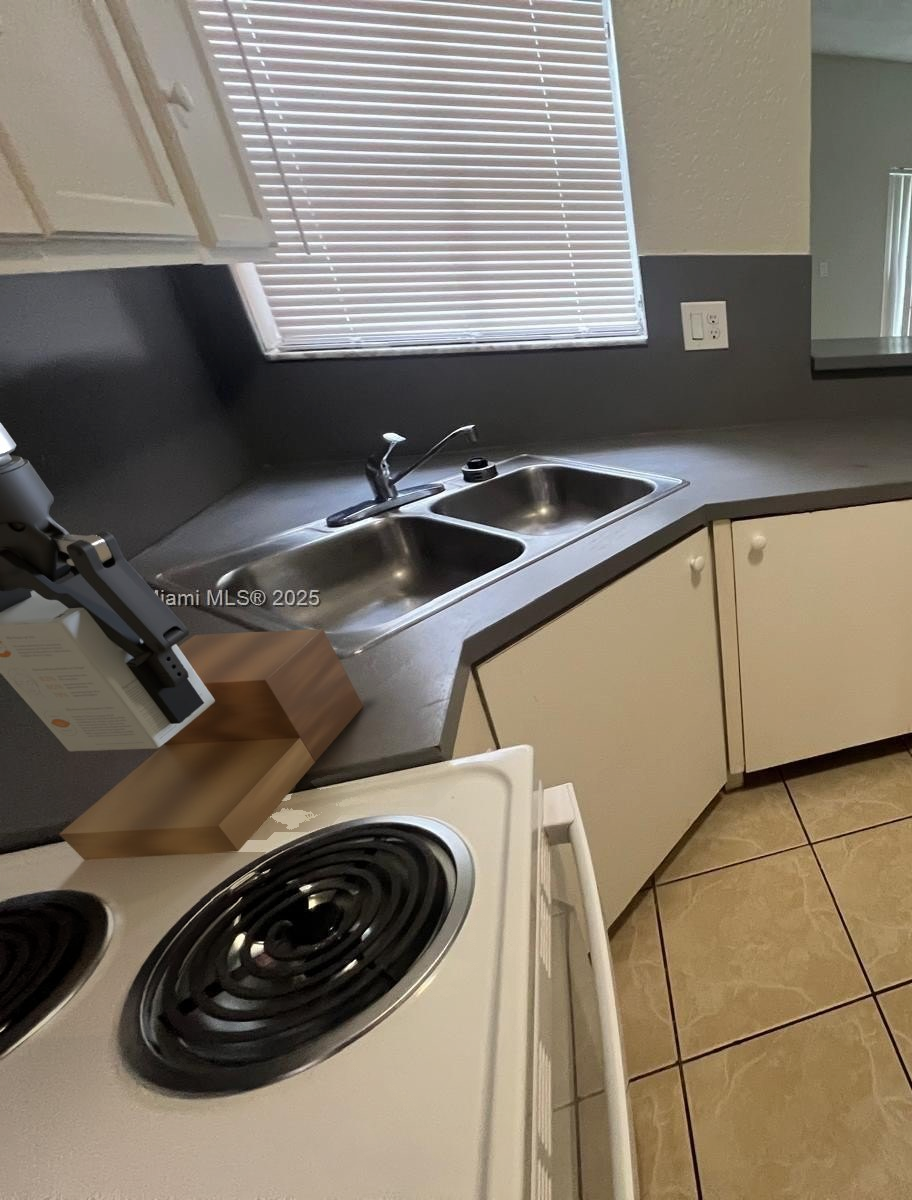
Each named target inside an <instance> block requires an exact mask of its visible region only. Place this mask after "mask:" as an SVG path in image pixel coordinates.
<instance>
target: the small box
mask: <svg viewBox="0 0 912 1200" xmlns="http://www.w3.org/2000/svg"><path fill="white" fill-rule="evenodd" d="M30 591H31V595H32V597H30V598H28V599H26V600H24V601H22V602H20V603H18V604H16V605H14V606H12V607H10V608H8V609H6V610H4V611H2V612H0V675H1V676H2V677H3V678H4V679H5V680H6V682H8V684H9V685H10V686H11V688H13V690H15V692H16V693H17V694H18V695H19V696H20V697H21V698H22V700H23V701H24V703H26V704H27V705H28V707H30V708H31V710H32V711H33V712H34V714H36V715H37V716H38V718H39V719H40V720H41V721H42V722H43V724H44V725H45V726H46V727H47V728H48V729H49V730H50V732H51V733H52V734H53V735H54V736H55V738H56V739H58V740H59V742H60V744H62V745H63V747H64V748H65V749H66V750H67V751H68V752H89V751H90V752H91V751H92V752H93V751H119V750H120V751H121V750H122V751H123V750H147V749H152V750H153V749H160V748H161V747H162V746H163V745H164V743H166V742H167V741H168V740H169V739H171V738H172V737H173V736H174V735H176V734H177V733H178V732H179V731H180V730H182V729H183V728H184V727H185V726H187V725H188V724H189V723H190V722H192V721H193V720H194V719H195V718H196V717H198V716H199V715H200V714H201V713H202V712H203V711H205V710H206V709H207V708H208V707H209V706H211V705H212V704H213V703H214V702H215V700H214V698H213V697H212V695H211V694H210V692H209V691H208V689H207V688H206V686H205V685H204V684H203V682H202V681H201V679H200V678H199V676H198V675H197V674H196V672H195V671H194V669H193V668H192V666H191V665H190V663H189V662H188V660H187V659H186V658H185V656H184V655H183V653H182V652H181V650H180V649H179V646H178V644H177V643H176V644H175V645H173V646H172V650H173V651H174V653H175V654H176V656H177V657H178V659H179V660H180V662H181V664H182V665H183V666H184V668H185V669H186V670H187V672H188V675H189V677H188V678H187V679H188V680H189V682H190V683H191V685H192V686H193V687H194V689H195V690H196V692H197V693H198V695H199V696H200V697H201V699H202V700H203V702H204V704H203V705H201V706H200V707H199V708H198V709H197V710H195V711H194V712H193V713H192V714H191V715H189V716H188V717H187V718H186V719H185V720H183V721H182V722H181V723H180V724H171V723H170V722H169V720H168V719H167V718H166V716H165V715H164V714H163V712H162V711H161V710H160V708H159V707H158V706H157V704H156V703H155V702H154V700H153V699H152V698H151V696H150V695H149V694H148V692H147V691H146V690H145V688H144V687H143V686H142V684H141V683H140V682H139V680H138V679H137V678H136V676H135V675H134V674H133V672H132V671H131V670H130V668H129V667H128V666H127V664H126V663H127V662H128V661H130V660H131V659H133V658H134V657H132V656H131V655H130V654H128V653H127V652H126V651H124V650H123V649H122V648H120V647H119V646H118V645H116V644H115V643H114V642H112V641H111V640H110V639H108V637H107V636H106V635H105V633H104V632H103V631H102V629H101V628H100V627H99V626H98V624H97V623H96V622H95V621H94V619H93V618H92V617H91V616H90V614H89V613H88V612H87V611H86V610H85V609H84V608H67V607H66V606H65V605H63V604H62V603H61V602H59V601H57V600H47V599H45V598H43V597H42V596H40V595H39V594H38V593H36V592H35V591H34V590H30ZM140 642H141V643H143V641H142V640H141V639H140Z"/></svg>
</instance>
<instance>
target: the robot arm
mask: <svg viewBox="0 0 912 1200" xmlns="http://www.w3.org/2000/svg"><path fill="white" fill-rule="evenodd" d="M16 447H17V444H16V442H15V441H14V439H13V438H12V437H11V435H10V434H9V432H8V431H7V429H6V428H5V427H4V425H3V424H2V423H1V422H0V612H2V611H4V610H6V609H8V608H10V607H12V606H14V605H16V604H18V603H20V602H22V601H24V600H26V599H28V598H30V597H32V595H31V591H33V590H34V591H35V592H36V593H38V594H39V595H40V596H42V597H43V598H45V599H47V600H57V601H59V602H61V603H62V604H63V605H65V606H66V607H67V608H84V609H85V610H86V611H87V612H88V613H89V614H90V616H91V617H92V618H93V619H94V621H95V622H96V623H97V624H98V626H99V627H100V628H101V629H102V631H103V632H104V633H105V635H106V636H107V637H108V639H110V640H111V641H112V642H114V643H115V644H116V645H118V646H119V647H120V648H122V649H123V650H124V651H126V652H127V653H128V654H130V655H131V656H132V657H134V658H133V659H131V660H130V661H128V662H127V663H126V664H127V666H128V667H129V668H130V670H131V671H132V672H133V674H134V675H135V676H136V678H137V679H138V680H139V682H140V683H141V684H142V686H143V687H144V688H145V690H146V691H147V692H148V694H149V695H150V696H151V698H152V699H153V700H154V702H155V703H156V704H157V706H158V707H159V708H160V710H161V711H162V712H163V714H164V715H165V716H166V718H167V719H168V720H169V722H170V723H171V724H180V723H181V722H182V721H183V720H185V719H186V718H187V717H188V716H189V715H191V714H192V713H193V712H194V711H195V710H197V709H198V708H199V707H200V706H201V705H203V704H204V702H203V700H202V699H201V697H200V696H199V695H198V693H197V692H196V690H195V689H194V687H193V686H192V685H191V683H190V682H189V680H188V679H187V678H188V677H189V675H188V672H187V670H186V669H185V668H184V666H183V665H182V664H181V662H180V660H179V659H178V657H177V656H176V654H175V653H174V651H173V650H172V646H173V645H175V644H176V645H177V644H178V643H179V642H181V641H182V640H183V639H185V638H186V637H188V636H189V635H190V631H189V629H188V628H187V627H186V625H185V624H184V623H183V622H182V621H181V619H179V618H178V616H176V613H174V612H173V611H172V610H171V609H170V607H168V605H167V604H166V603H165V602H164V601H163V600H162V599H161V597H159V595H158V594H157V593H156V592H155V590H153V588H152V587H151V586H150V585H149V584H148V583H147V581H145V579H144V578H143V577H142V576H141V574H139V573H138V572H137V570H136V569H135V568H134V567H133V566H132V565H131V564H130V563H129V561H128V560H127V559H126V558H125V556H124V555H123V552H122V550H121V548H120V546H119V543H118V542H117V540H116V538H115V536H114V535H113V534H112V533H110V532H109V531H106V530H99V531H95V532H94V533H92V534H89V535H81V534H71V533H70V532H69V531H67V530H66V529H65V528H64V527H63V526H61V525H60V524H59V523H57V522H56V521H55V520H54V519H53V518H52V516H51V515H50V509H51V506H52V505H53V504H54V501H55V497H54V495H53V493H52V492H51V491H50V489H49V488H48V487H47V486H46V483H44V481H43V480H42V478H41V476H40V475H39V474H38V473H37V471H36V469H35V468H34V467H33V465H32V464H31V462H30V461H29V460H28V459H26V458H22V457H21V456H18V455H10V454H11V453H12V452H14V451H15V450H16ZM70 572H71V573H72V574H73V576H72V577H70V578H68V579H66V580H65V578H67V577H69V574H70ZM62 580H64V581H62ZM60 581H61V582H60ZM58 582H59V583H58ZM140 639H141V640H142V641H143V643H141V642H140Z"/></svg>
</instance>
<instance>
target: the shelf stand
mask: <svg viewBox="0 0 912 1200" xmlns="http://www.w3.org/2000/svg"><path fill="white" fill-rule="evenodd" d="M178 647H179V649H180V650H181V652H182V653H183V655H184V656H185V658H186V659H187V660H188V662H189V663H190V665H191V666H192V668H193V669H194V671H195V672H196V674H197V675H198V676H199V678H200V679H201V681H202V682H203V684H204V685H205V686H206V688H207V689H208V691H209V692H210V694H211V695H212V697H213V698H214V700H215V702H214V703H213V704H212V705H211V706H209V707H208V708H207V709H206V710H205V711H203V712H202V713H201V714H200V715H199V716H198V717H196V718H195V719H194V720H193V721H192V722H190V723H189V724H188V725H187V726H185V727H184V728H183V729H182V730H180V731H179V732H178V733H177V734H176V735H174V736H173V737H172V738H171V739H169V740H168V741H167V742H166V743H164V744H163V745H162V746H161V747H159V748H158V749H157V750H156V751H155V752H154V753H153V754H152V755H150V756H149V757H148V758H147V759H146V760H144V761H143V762H142V763H141V764H140V765H138V766H137V767H136V768H135V769H133V770H132V772H130V773H129V774H128V775H127V776H125V777H124V778H123V779H122V780H120V781H119V782H118V783H117V784H116V785H115V786H114V787H113V788H111V789H110V790H109V791H108V792H107V793H105V794H104V795H103V796H102V797H100V799H99V800H96V802H95V803H94V804H92V806H90V807H89V808H88V809H86V810H85V811H84V812H83V813H82V814H81V815H80V816H78V817H77V818H76V819H74V821H73V822H71V823H70V824H69V825H67V826H66V827H65V828H64V829H63V830H62V831H60V832H59V833H58V835H59V836H60V837H61V838H62V839H63V840H64V841H65V842H66V843H67V844H68V845H69V846H70V848H72V849H73V850H74V851H75V852H76V853H77V855H78V856H79V857H81V858H82V859H83V860H98V859H99V860H100V859H121V858H139V857H141V858H143V857H158V856H159V857H161V856H179V855H198V854H199V855H200V854H217V853H219V854H220V853H238V852H239V851H240V850H241V849H242V848H243V847H244V845H246V843H247V842H248V841H249V840H250V839H251V837H252V836H253V835H254V834H255V833H256V831H257V830H258V829H260V827H261V826H262V825H263V823H264V822H265V821H266V820H267V819H268V818H269V817H270V815H271V814H272V813H273V812H274V811H275V810H276V809H277V807H278V806H279V805H280V804H281V803H282V801H283V800H284V799H285V798H287V796H288V795H289V793H290V792H291V791H292V790H293V789H294V787H296V785H297V784H298V783H299V782H300V781H301V779H302V778H303V777H304V776H305V774H306V773H308V771H309V770H310V769H311V768H312V766H313V765H314V764H315V763H316V762H317V760H319V758H320V757H321V756H322V755H323V754H324V753H325V751H326V750H328V748H329V747H330V745H332V743H333V742H334V741H335V740H336V739H337V737H338V736H339V735H340V734H341V733H342V732H343V731H344V729H346V727H348V725H349V724H350V722H351V721H352V720H353V719H354V718H355V716H356V715H357V714H358V713H359V712H360V711H361V710H362V708H363V707H364V704H363V703H362V700H361V698H360V696H359V694H358V693H357V691H356V688H355V687H354V685H353V683H352V681H351V679H350V677H349V675H348V674H347V671H346V670H345V668H344V666H343V664H342V662H341V660H340V658H339V657H338V654H337V652H336V651H335V648H334V646H333V645H332V643H331V641H330V639H329V637H328V635H327V633H326V631H325V630H324V628H310V629H309V628H307V629H290V630H289V629H287V630H271V631H270V630H269V631H249V632H231V633H212V634H211V633H209V634H194V635H193V636H191V637H190V638H188V639H187V640H185V641H184V642H182V644H180V645H179V646H178Z"/></svg>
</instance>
